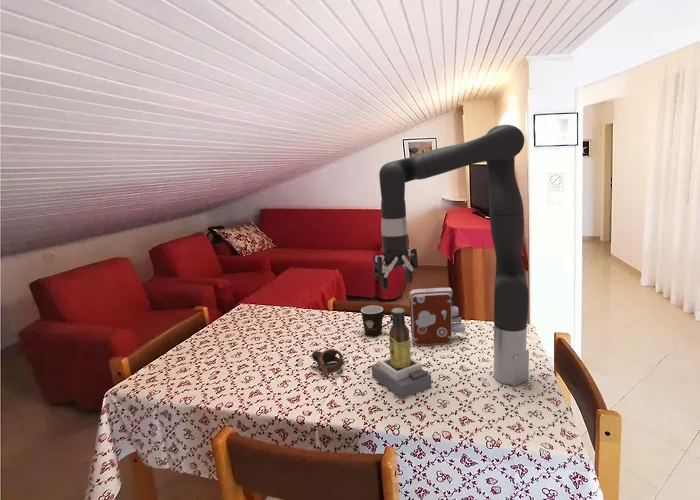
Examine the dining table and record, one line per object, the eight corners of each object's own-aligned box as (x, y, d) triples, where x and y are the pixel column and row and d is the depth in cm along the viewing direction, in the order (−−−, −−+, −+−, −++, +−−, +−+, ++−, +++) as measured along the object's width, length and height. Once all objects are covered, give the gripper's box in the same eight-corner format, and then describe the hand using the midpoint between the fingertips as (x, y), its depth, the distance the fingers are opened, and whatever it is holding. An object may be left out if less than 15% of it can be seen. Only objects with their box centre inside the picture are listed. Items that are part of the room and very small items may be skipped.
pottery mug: (349, 364, 155) (349, 350, 149) (338, 387, 149) (337, 374, 143) (317, 352, 158) (316, 339, 153) (305, 374, 152) (303, 361, 146)
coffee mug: (357, 334, 177) (356, 310, 175) (373, 327, 183) (371, 304, 180) (379, 342, 169) (377, 317, 166) (394, 334, 174) (393, 310, 172)
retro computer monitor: (431, 386, 136) (430, 367, 135) (401, 398, 131) (400, 378, 130) (400, 366, 150) (399, 348, 148) (372, 376, 145) (371, 357, 143)
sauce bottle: (391, 364, 143) (388, 305, 139) (411, 364, 142) (408, 305, 138) (390, 374, 137) (387, 313, 132) (410, 375, 136) (408, 313, 132)
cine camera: (467, 344, 162) (467, 292, 157) (413, 347, 162) (411, 295, 158) (461, 334, 171) (461, 283, 166) (410, 337, 171) (408, 287, 167)
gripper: (381, 238, 124) (384, 294, 127) (422, 230, 130) (424, 283, 134) (366, 234, 130) (370, 288, 134) (406, 227, 137) (408, 278, 141)
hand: (397, 285), depth 134 cm, fingers open, 8 cm apart
